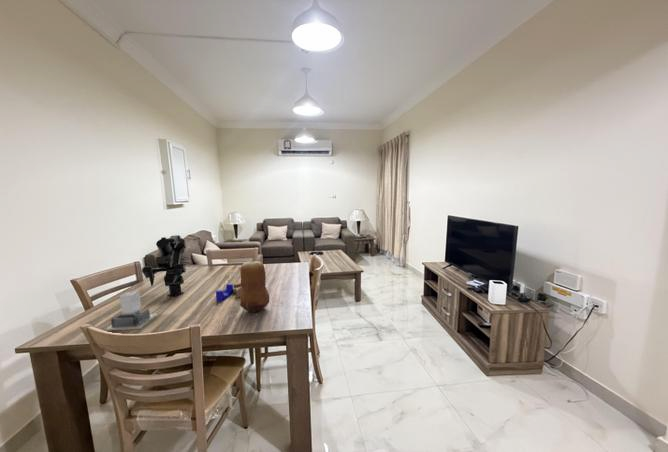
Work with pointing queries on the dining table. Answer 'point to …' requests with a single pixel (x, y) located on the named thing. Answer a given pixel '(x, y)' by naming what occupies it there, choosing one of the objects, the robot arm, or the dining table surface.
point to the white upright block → (130, 304)
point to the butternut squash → (253, 286)
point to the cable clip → (224, 293)
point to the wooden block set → (237, 289)
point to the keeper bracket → (131, 321)
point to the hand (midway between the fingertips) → (162, 284)
